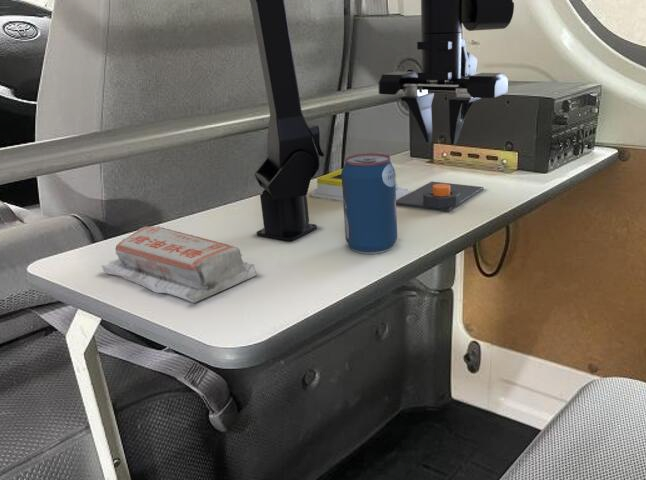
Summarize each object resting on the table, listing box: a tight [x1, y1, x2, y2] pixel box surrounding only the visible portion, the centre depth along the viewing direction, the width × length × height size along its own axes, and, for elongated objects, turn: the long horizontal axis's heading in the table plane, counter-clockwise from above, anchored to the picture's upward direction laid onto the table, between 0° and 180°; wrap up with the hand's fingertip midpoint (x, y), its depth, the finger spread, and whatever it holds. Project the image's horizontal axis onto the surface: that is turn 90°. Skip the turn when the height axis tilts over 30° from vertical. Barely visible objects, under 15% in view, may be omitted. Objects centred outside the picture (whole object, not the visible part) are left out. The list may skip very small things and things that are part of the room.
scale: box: [396, 181, 485, 213], centre depth 104 cm, size 14×10×2 cm
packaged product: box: [101, 225, 257, 304], centre depth 77 cm, size 18×5×10 cm
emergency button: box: [310, 168, 409, 202], centre depth 108 cm, size 9×4×15 cm
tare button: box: [433, 184, 450, 196], centre depth 99 cm, size 3×3×2 cm
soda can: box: [341, 152, 398, 255], centre depth 82 cm, size 7×7×12 cm
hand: (441, 143), depth 96 cm, fingers open, 4 cm apart
